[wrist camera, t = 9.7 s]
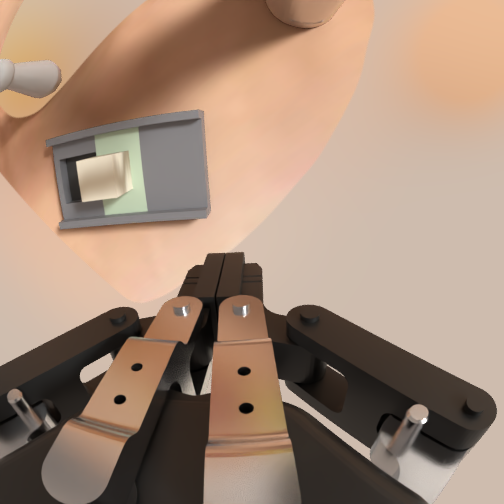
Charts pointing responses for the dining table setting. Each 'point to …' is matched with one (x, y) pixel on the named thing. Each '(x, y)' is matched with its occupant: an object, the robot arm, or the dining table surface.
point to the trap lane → (138, 170)
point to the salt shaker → (30, 77)
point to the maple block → (104, 176)
